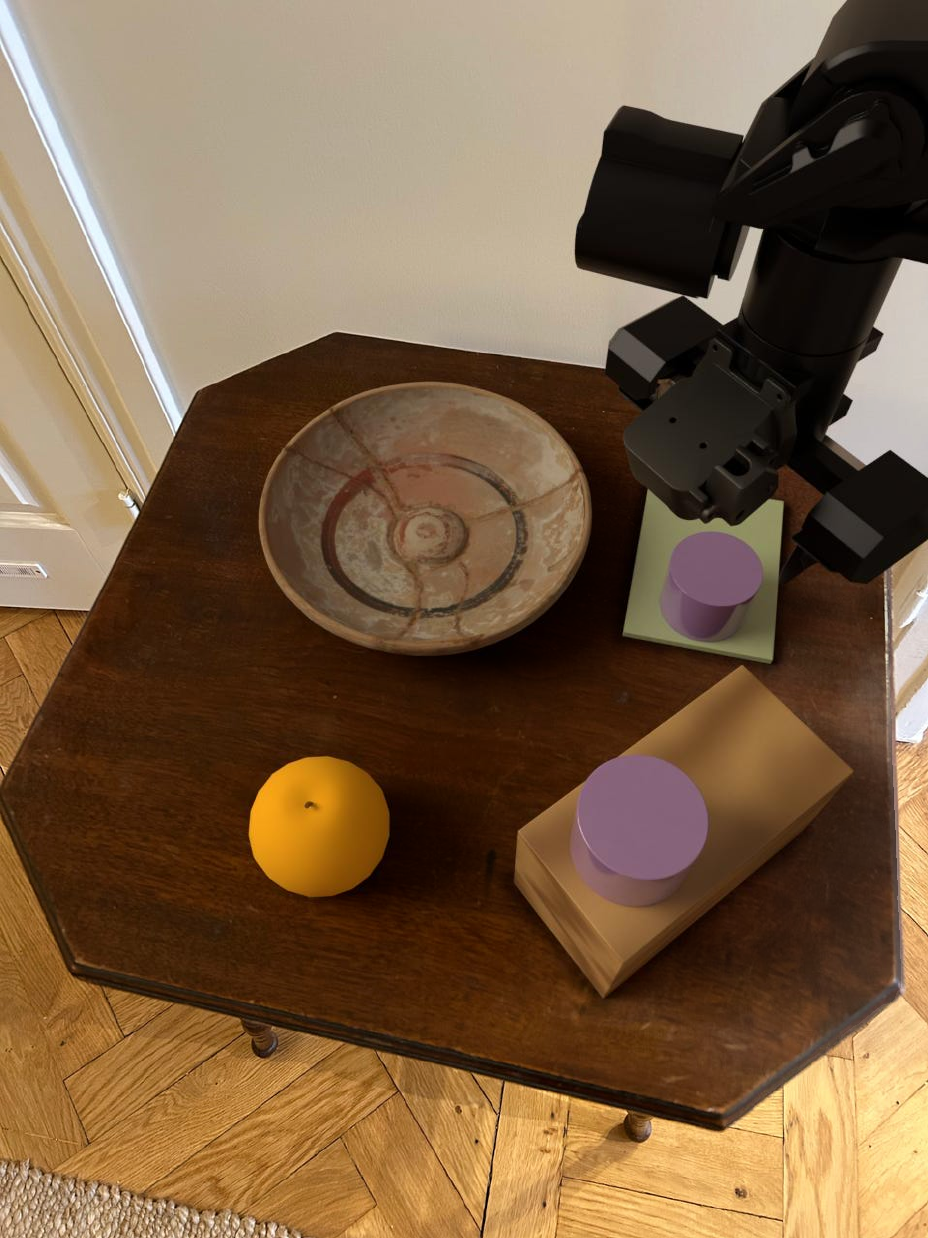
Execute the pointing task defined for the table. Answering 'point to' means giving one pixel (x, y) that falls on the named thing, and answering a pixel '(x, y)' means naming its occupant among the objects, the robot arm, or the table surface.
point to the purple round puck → (710, 586)
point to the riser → (738, 825)
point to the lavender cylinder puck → (637, 830)
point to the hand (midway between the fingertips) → (728, 529)
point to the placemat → (651, 567)
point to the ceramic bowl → (425, 518)
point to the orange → (319, 826)
